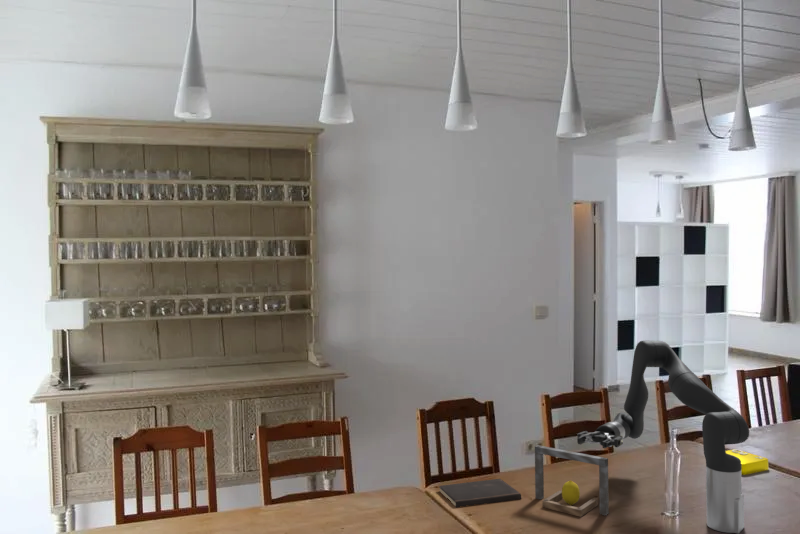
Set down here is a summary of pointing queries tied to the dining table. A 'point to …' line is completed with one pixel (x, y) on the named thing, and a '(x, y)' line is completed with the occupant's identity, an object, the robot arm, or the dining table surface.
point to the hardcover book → (479, 492)
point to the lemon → (570, 492)
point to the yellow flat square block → (750, 462)
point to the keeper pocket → (552, 500)
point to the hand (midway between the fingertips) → (591, 443)
